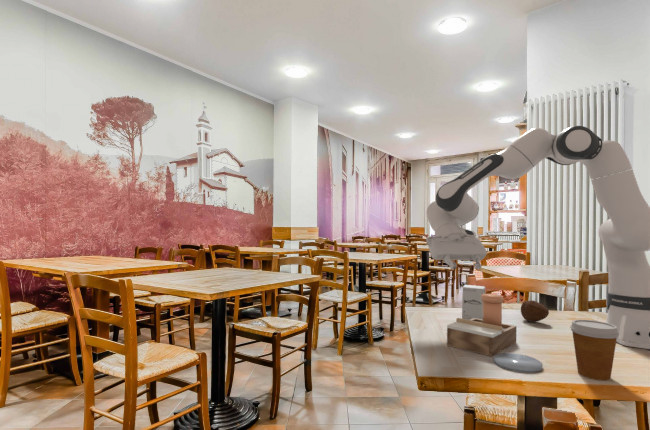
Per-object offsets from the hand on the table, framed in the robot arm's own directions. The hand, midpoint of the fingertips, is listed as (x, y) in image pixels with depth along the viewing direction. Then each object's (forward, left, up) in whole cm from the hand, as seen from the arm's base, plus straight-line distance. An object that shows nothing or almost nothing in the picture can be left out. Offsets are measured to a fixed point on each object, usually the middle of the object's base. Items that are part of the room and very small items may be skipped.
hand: (466, 268), depth 127 cm
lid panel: (-9, +16, -16) cm, 24 cm away
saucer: (-22, +20, -21) cm, 37 cm away
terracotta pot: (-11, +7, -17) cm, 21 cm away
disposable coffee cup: (-37, +14, -21) cm, 45 cm away
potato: (-11, -31, -21) cm, 39 cm away
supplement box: (+5, -16, -21) cm, 27 cm away
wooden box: (-9, +10, -21) cm, 25 cm away
